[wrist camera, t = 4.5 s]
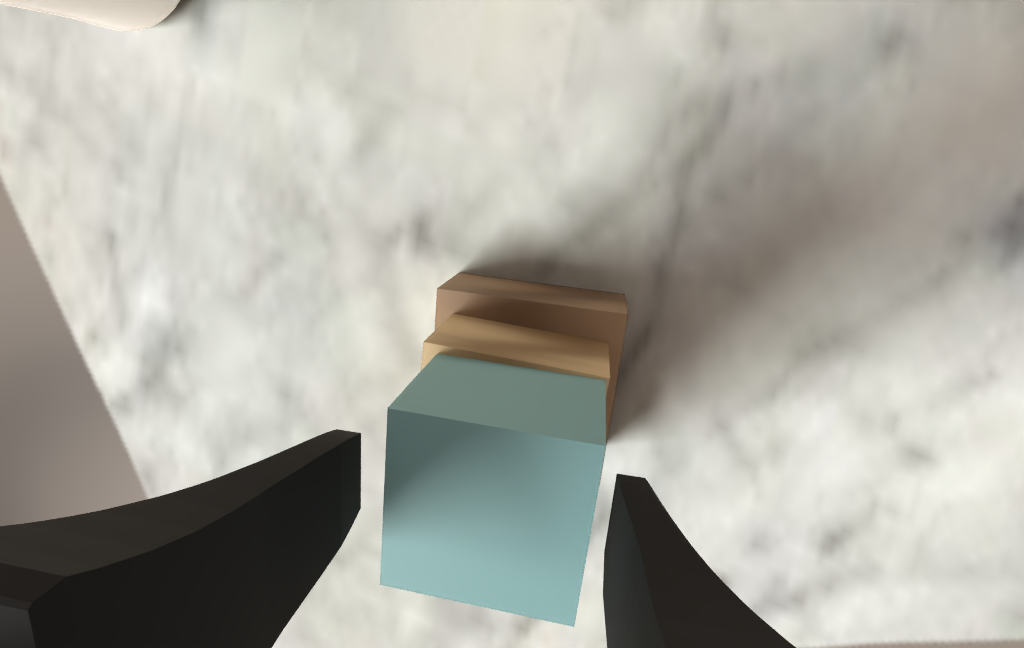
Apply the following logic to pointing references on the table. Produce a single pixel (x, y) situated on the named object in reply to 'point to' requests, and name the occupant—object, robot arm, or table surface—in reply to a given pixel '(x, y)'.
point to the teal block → (493, 485)
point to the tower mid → (518, 347)
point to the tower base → (541, 312)
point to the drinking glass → (104, 11)
